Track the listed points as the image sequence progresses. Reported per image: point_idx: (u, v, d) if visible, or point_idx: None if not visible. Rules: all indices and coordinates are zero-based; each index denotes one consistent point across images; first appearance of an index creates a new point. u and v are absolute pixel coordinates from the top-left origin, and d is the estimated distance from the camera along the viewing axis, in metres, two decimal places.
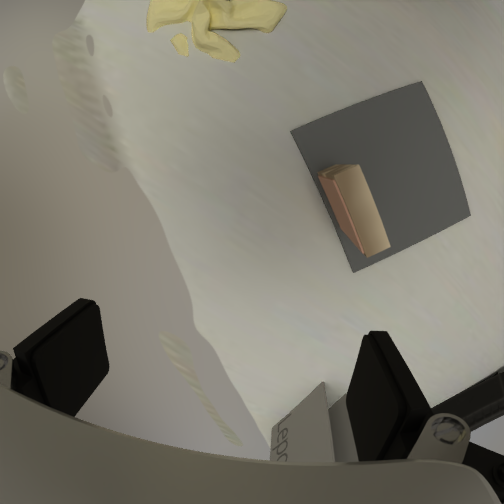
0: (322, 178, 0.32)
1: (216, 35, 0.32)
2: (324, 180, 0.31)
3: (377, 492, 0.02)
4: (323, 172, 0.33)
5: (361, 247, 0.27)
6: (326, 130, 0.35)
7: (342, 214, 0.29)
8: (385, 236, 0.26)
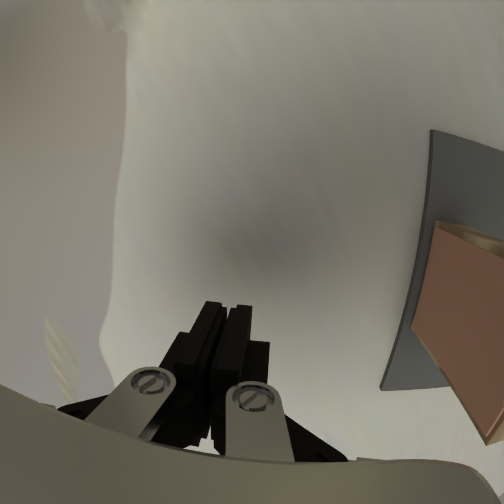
0: (465, 243, 0.14)
1: None
2: (475, 252, 0.13)
3: (376, 492, 0.02)
4: (469, 233, 0.14)
5: (492, 426, 0.08)
6: (478, 166, 0.16)
7: (483, 338, 0.11)
8: None
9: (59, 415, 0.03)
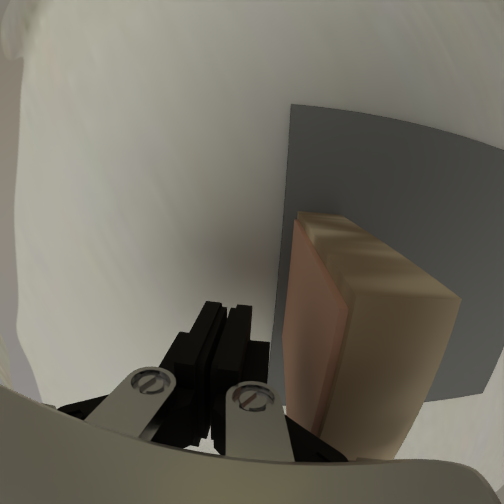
0: (301, 236, 0.13)
1: None
2: (304, 247, 0.12)
3: (376, 492, 0.02)
4: (311, 223, 0.13)
5: None
6: (361, 141, 0.16)
7: (299, 366, 0.10)
8: None
9: (59, 415, 0.03)
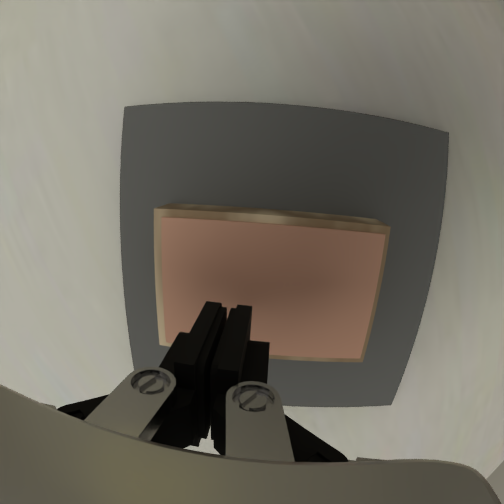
0: (239, 224, 0.15)
1: None
2: (261, 230, 0.15)
3: (377, 492, 0.02)
4: (234, 212, 0.15)
5: (362, 348, 0.16)
6: (184, 130, 0.16)
7: (310, 302, 0.15)
8: None
9: (59, 415, 0.03)
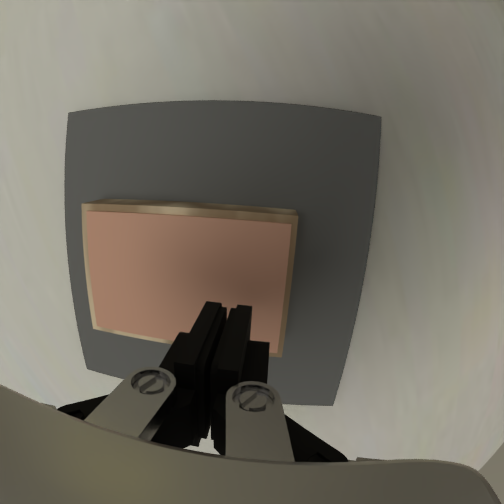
0: (147, 216, 0.15)
1: None
2: (167, 221, 0.15)
3: (377, 492, 0.02)
4: (145, 205, 0.15)
5: (278, 342, 0.16)
6: (114, 131, 0.17)
7: (218, 292, 0.16)
8: None
9: (59, 415, 0.03)
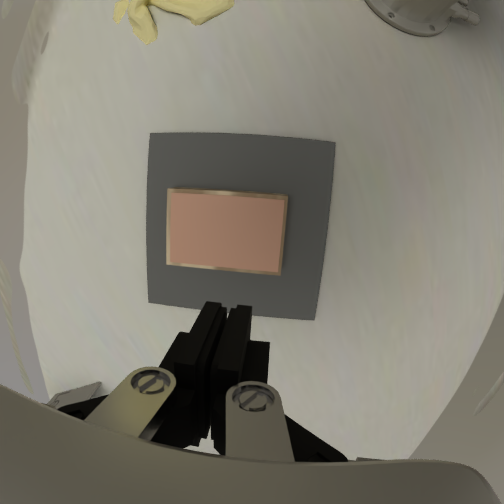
0: (209, 196, 0.30)
1: (145, 11, 0.26)
2: (220, 198, 0.30)
3: (377, 493, 0.02)
4: (207, 190, 0.30)
5: (278, 266, 0.31)
6: (183, 148, 0.31)
7: (246, 236, 0.30)
8: None
9: (59, 415, 0.03)
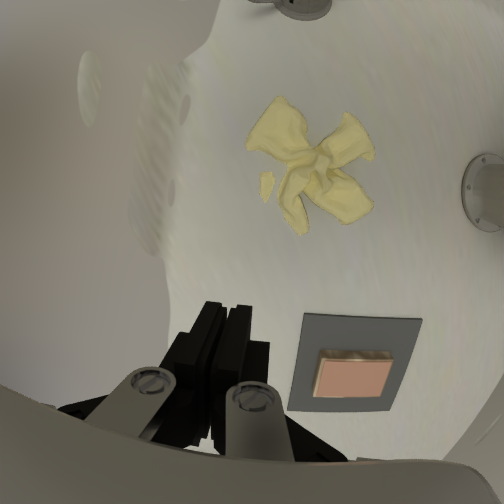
0: (349, 362, 0.43)
1: (300, 205, 0.40)
2: (355, 363, 0.43)
3: (377, 492, 0.02)
4: (347, 358, 0.44)
5: (380, 392, 0.45)
6: (329, 326, 0.45)
7: (366, 381, 0.44)
8: None
9: (59, 415, 0.03)
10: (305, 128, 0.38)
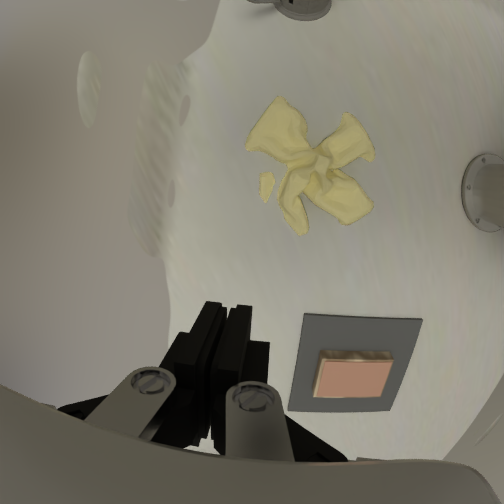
0: (349, 363, 0.43)
1: (300, 206, 0.40)
2: (356, 364, 0.43)
3: (377, 492, 0.02)
4: (348, 358, 0.44)
5: (380, 393, 0.45)
6: (329, 326, 0.45)
7: (366, 381, 0.44)
8: None
9: (59, 415, 0.03)
10: (305, 128, 0.38)
